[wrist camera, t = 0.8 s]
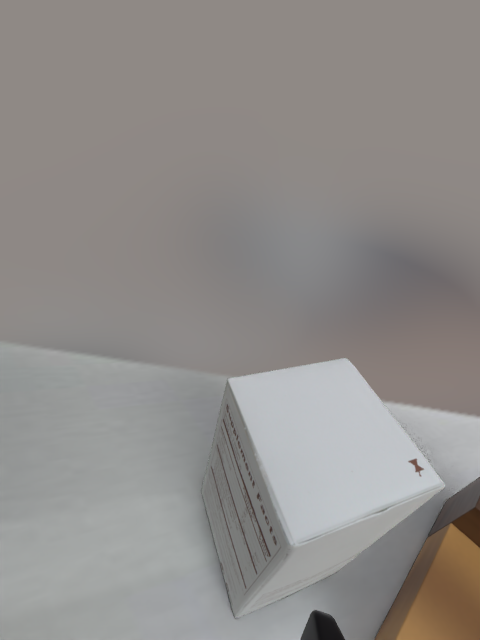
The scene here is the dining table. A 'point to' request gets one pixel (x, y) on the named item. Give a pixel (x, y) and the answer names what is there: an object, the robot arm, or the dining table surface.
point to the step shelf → (443, 578)
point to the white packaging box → (305, 478)
